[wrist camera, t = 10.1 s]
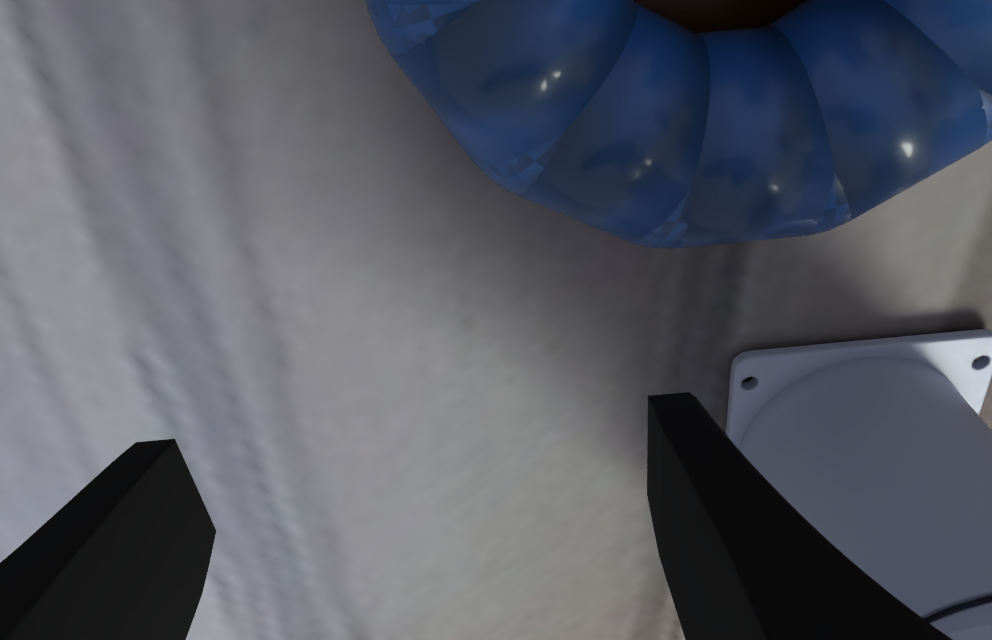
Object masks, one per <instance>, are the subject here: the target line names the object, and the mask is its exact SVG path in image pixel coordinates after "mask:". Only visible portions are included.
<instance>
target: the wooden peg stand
mask: <svg viewBox="0 0 992 640" xmlns="http://www.w3.org/2000/svg"><path fill="white" fill-rule="evenodd" d="M804 1H806V0H634V2H635V3H637V4H639V5H641V6H642V7H644V8H646V9H648V10H650V11H652V12H654V13H656V14H658V15H660V16H662V17H664V18H666V19H668V20H670V21H672V22H674V23H676V24H678V25H680V26H682V27H684V28H686V29H688V30H690V31H692V32H694V33H706V32H715V31H725V30H734V29H744V28H753V27H763V26H768V25H770V24H771V23H773V22H774V21H776V20H777V19H779V18H780V17H782V16H783V15H785V14H786V13H788V12H789V11H791V10H792V9H794V8H795V7H797V6H798V5H800V4H801V3H803V2H804Z"/></svg>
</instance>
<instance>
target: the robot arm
mask: <svg viewBox="0 0 992 640" xmlns="http://www.w3.org/2000/svg"><path fill="white" fill-rule="evenodd" d="M979 356H981V358H979V359H978V360H976V361H974V359H976V358H977V357H979ZM747 377H753V379H752V380H750V381H749V382H742V381H743V380H744V379H745V378H747ZM991 377H992V331H991V330H989V329H978V330H967V331H956V332H945V333H935V334H924V335H913V336H902V337H892V338H881V339H870V340H859V341H849V342H838V343H827V344H816V345H806V346H795V347H784V348H773V349H763V350H752V351H746V352H742V353H741V354H739V355H737V356H736V357H735V358H734V360H733V362H732V365H731V374H730V387H729V399H728V411H727V423H726V434H725V433H724V432H723V430H722V429H721V428H720V427H719V426H718V424H717V423H716V422H715V421H714V420H713V418H712V417H711V416H710V415H709V413H708V412H707V411H706V410H705V408H704V407H703V406H702V405H701V403H700V402H699V401H698V399H697V398H696V397H695V396H693V395H692V394H691V393H690V392H685V393H674V394H663V395H652V396H648V455H647V496H648V501H649V506H650V511H651V516H652V522H653V527H654V532H655V537H656V542H657V547H658V552H659V556H660V560H661V563H662V566H663V569H664V573H665V576H666V579H667V582H668V585H669V589H670V592H671V595H672V598H673V601H674V605H675V608H676V611H677V614H678V617H679V620H680V623H681V626H682V630H683V633H684V636H685V639H686V640H992V430H991V429H990V428H989V427H988V426H987V424H986V423H985V422H984V421H983V420H982V419H981V417H980V416H979V414H980V411H981V408H982V405H983V402H984V398H985V395H986V392H987V389H988V386H989V383H990V380H991ZM215 534H216V529H215V527H214V525H213V523H212V521H211V518H210V516H209V514H208V512H207V509H206V507H205V505H204V503H203V501H202V498H201V496H200V494H199V492H198V489H197V487H196V485H195V483H194V481H193V478H192V476H191V474H190V472H189V469H188V467H187V465H186V463H185V461H184V458H183V456H182V454H181V452H180V449H179V447H178V445H177V443H176V441H175V439H168V440H157V441H146V442H136V443H135V444H134V445H132V446H131V447H130V448H129V449H127V450H126V451H125V452H124V453H123V454H121V455H120V456H119V457H118V458H117V459H116V460H115V461H113V462H112V463H111V464H110V465H109V466H108V467H107V468H106V469H104V470H103V471H102V472H101V473H100V474H99V475H98V476H97V477H96V478H94V479H93V480H92V481H91V482H90V483H89V484H88V485H87V486H86V487H85V488H84V489H82V490H81V491H80V492H79V493H78V494H77V495H76V496H75V497H74V498H73V499H72V500H70V501H69V502H68V503H67V504H66V505H65V506H64V507H63V508H62V509H61V510H59V511H58V512H57V513H56V514H55V515H54V516H53V517H52V518H51V519H49V520H48V521H47V522H46V523H45V524H44V525H43V526H42V527H41V528H39V529H38V530H37V531H36V532H35V533H34V534H33V535H32V536H31V537H30V538H28V539H27V540H26V541H25V542H24V543H23V544H22V545H21V546H20V547H18V548H17V549H16V550H15V551H14V552H13V553H11V554H10V555H9V556H8V557H7V558H6V559H4V560H3V561H2V562H1V563H0V640H186V637H187V634H188V631H189V629H190V626H191V623H192V620H193V618H194V615H195V612H196V609H197V607H198V604H199V601H200V598H201V595H202V592H203V587H204V583H205V579H206V575H207V571H208V567H209V563H210V558H211V553H212V548H213V543H214V538H215Z"/></svg>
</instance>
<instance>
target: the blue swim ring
mask: <svg viewBox="0 0 992 640" xmlns="http://www.w3.org/2000/svg"><path fill="white" fill-rule="evenodd" d="M366 4H367V9H368V13H369V15H370V18H371V21H372V23H373V25H374V27H375V30H376V32H377V35H378V36H379V38H380V40H381V42H382V43H383V44H384V46H385V47H386V49H387V50H388V52H389V54H390V55H391V56H392V58H393V59H394V60H395V61H396V63H397V64H398V65H399V67H400V68H401V69H402V71H403V72H404V73H405V74H406V76H407V77H408V78H409V80H410V81H411V82H412V83H413V85H414V86H415V87H416V89H417V90H418V91H419V93H420V94H421V95H422V96H423V98H424V99H425V100H426V102H427V103H428V104H429V106H430V107H431V108H432V109H433V111H434V112H435V113H436V115H437V116H438V117H439V118H440V120H441V121H442V122H443V124H444V125H445V126H446V128H447V129H448V130H449V131H450V133H451V134H452V135H453V137H454V138H455V139H456V140H457V142H458V143H459V144H460V146H461V147H462V148H463V150H464V151H465V152H466V153H467V155H468V156H469V157H470V159H471V160H472V161H473V162H474V163H475V164H476V165H477V166H478V168H479V169H480V170H481V171H482V172H483V173H484V174H485V175H486V176H487V177H489V178H490V179H491V180H492V181H494V182H495V183H496V184H498V185H499V186H501V187H502V188H504V189H505V190H507V191H509V192H512V193H514V194H516V195H518V196H520V197H523V198H525V199H527V200H530V201H532V202H534V203H537V204H539V205H542V206H544V207H546V208H549V209H551V210H554V211H556V212H558V213H561V214H563V215H566V216H568V217H570V218H573V219H575V220H577V221H580V222H582V223H585V224H587V225H589V226H592V227H594V228H597V229H599V230H601V231H604V232H606V233H609V234H611V235H613V236H616V237H618V238H620V239H623V240H625V241H628V242H631V243H633V244H637V245H641V246H645V247H652V248H684V247H694V246H705V245H716V244H726V243H737V242H747V241H758V240H769V239H779V238H790V237H801V236H808V235H812V234H816V233H821V232H825V231H829V230H831V229H833V228H836V227H838V226H840V225H843V224H845V223H847V222H849V221H851V220H852V219H854V218H856V217H858V216H860V215H861V214H863V213H865V212H867V211H869V210H870V209H872V208H874V207H876V206H877V205H879V204H881V203H883V202H885V201H886V200H888V199H890V198H892V197H894V196H895V195H897V194H899V193H901V192H902V191H904V190H906V189H908V188H910V187H911V186H913V185H915V184H917V183H919V182H920V181H922V180H924V179H926V178H927V177H929V176H931V175H933V174H935V173H936V172H938V171H940V170H942V169H944V168H945V167H947V166H949V165H951V164H952V163H954V162H956V161H958V160H960V159H961V158H963V157H965V156H967V155H969V154H970V153H972V152H974V151H976V150H977V149H979V148H981V147H982V146H984V145H985V144H987V143H988V142H989V141H991V140H992V0H806V1H804V2H803V3H801V4H800V5H798V6H797V7H795V8H794V9H792V10H791V11H789V12H788V13H786V14H785V15H783V16H782V17H780V18H779V19H777V20H776V21H774V22H773V23H771V24H770V25H768V26H763V27H753V28H744V29H734V30H725V31H715V32H706V33H694V32H692V31H690V30H688V29H686V28H684V27H682V26H680V25H678V24H676V23H674V22H672V21H670V20H668V19H666V18H664V17H662V16H660V15H658V14H656V13H654V12H652V11H650V10H648V9H646V8H644V7H642V6H641V5H639V4H637V3H635V2H634V0H366Z"/></svg>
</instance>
